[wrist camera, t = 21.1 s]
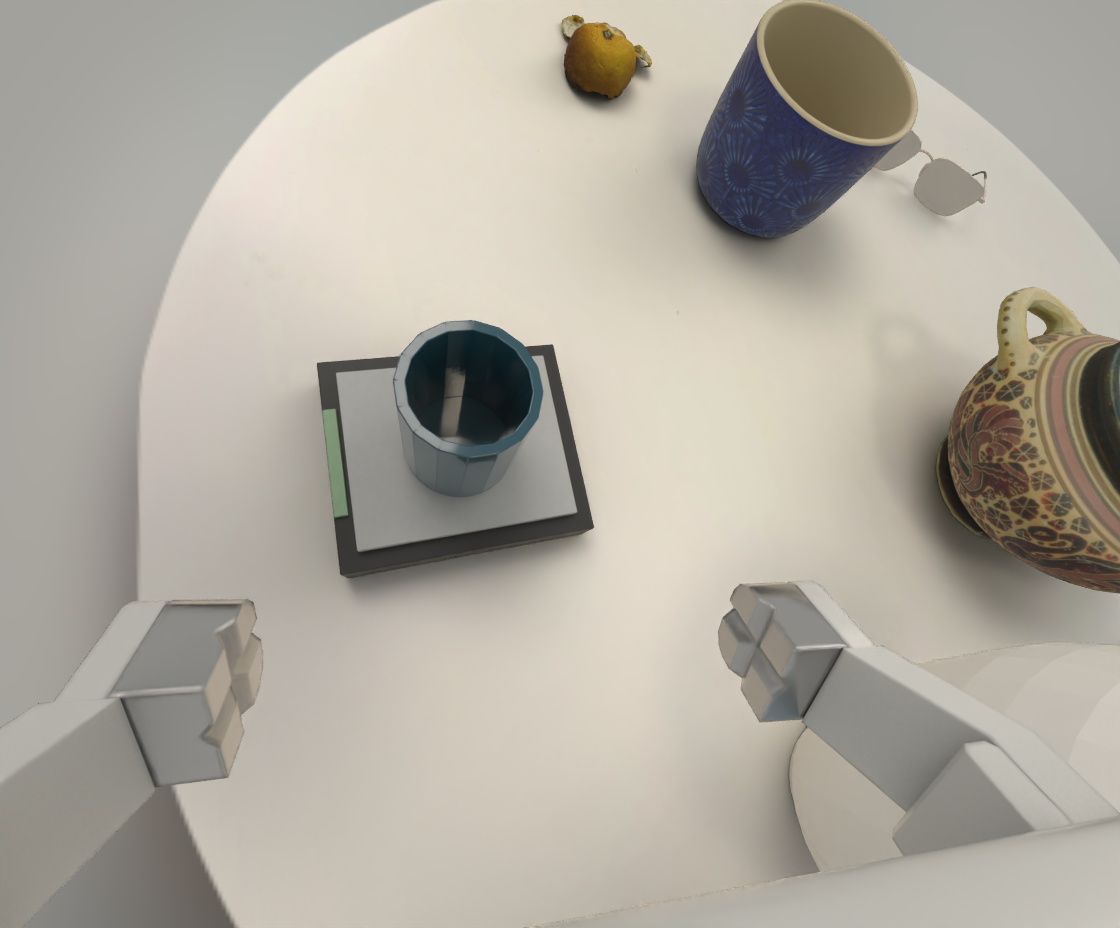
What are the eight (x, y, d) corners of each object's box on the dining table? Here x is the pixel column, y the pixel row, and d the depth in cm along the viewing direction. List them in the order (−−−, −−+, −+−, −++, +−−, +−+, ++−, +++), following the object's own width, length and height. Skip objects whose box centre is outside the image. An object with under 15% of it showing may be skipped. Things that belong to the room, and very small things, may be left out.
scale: (347, 578, 29) (338, 574, 26) (324, 380, 32) (314, 357, 29) (582, 533, 33) (597, 526, 30) (544, 361, 35) (555, 339, 33)
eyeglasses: (837, 141, 49) (871, 101, 46) (858, 103, 53) (891, 62, 49) (953, 227, 50) (996, 194, 46) (966, 183, 53) (1007, 149, 50)
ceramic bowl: (1072, 592, 45) (1375, 556, 32) (1008, 699, 35) (1405, 707, 23) (923, 347, 49) (1143, 233, 36) (827, 383, 39) (1084, 242, 26)
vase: (929, 1002, 30) (2641, 2339, 7) (668, 880, 29) (1734, 2075, 5) (972, 699, 36) (1952, 856, 13) (759, 584, 35) (1438, 530, 11)
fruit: (651, 57, 46) (669, 12, 43) (633, 122, 43) (650, 80, 40) (564, 16, 45) (575, -33, 42) (539, 81, 42) (549, 34, 39)
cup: (411, 506, 28) (405, 466, 20) (395, 398, 29) (384, 324, 22) (523, 488, 29) (556, 446, 22) (503, 387, 31) (527, 316, 23)
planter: (822, 181, 47) (931, 62, 37) (790, 280, 43) (903, 176, 33) (705, 111, 46) (784, -32, 36) (660, 206, 42) (735, 74, 32)
